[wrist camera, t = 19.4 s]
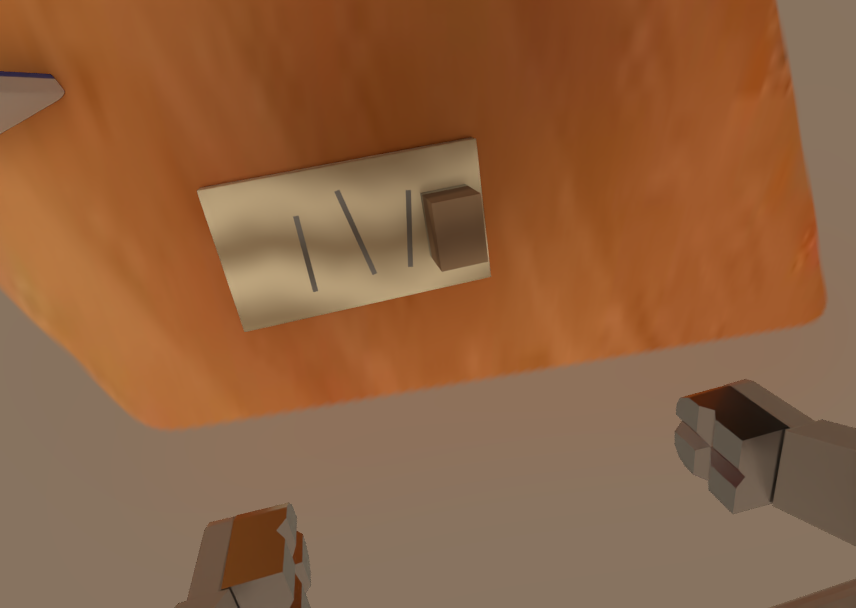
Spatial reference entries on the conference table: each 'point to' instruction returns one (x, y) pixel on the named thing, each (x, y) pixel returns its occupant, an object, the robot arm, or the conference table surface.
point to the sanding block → (455, 226)
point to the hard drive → (25, 96)
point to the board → (336, 233)
